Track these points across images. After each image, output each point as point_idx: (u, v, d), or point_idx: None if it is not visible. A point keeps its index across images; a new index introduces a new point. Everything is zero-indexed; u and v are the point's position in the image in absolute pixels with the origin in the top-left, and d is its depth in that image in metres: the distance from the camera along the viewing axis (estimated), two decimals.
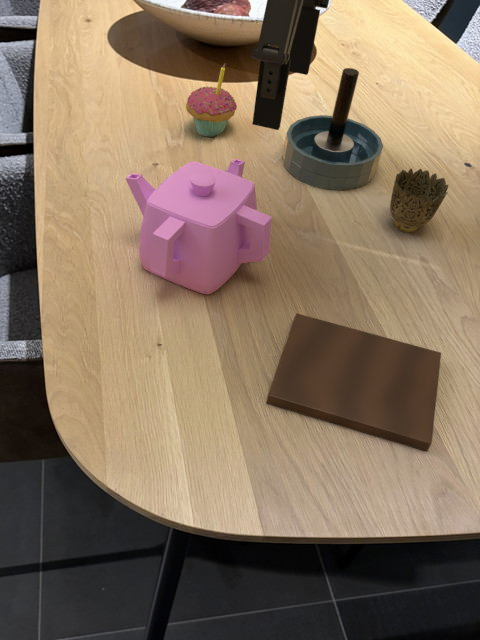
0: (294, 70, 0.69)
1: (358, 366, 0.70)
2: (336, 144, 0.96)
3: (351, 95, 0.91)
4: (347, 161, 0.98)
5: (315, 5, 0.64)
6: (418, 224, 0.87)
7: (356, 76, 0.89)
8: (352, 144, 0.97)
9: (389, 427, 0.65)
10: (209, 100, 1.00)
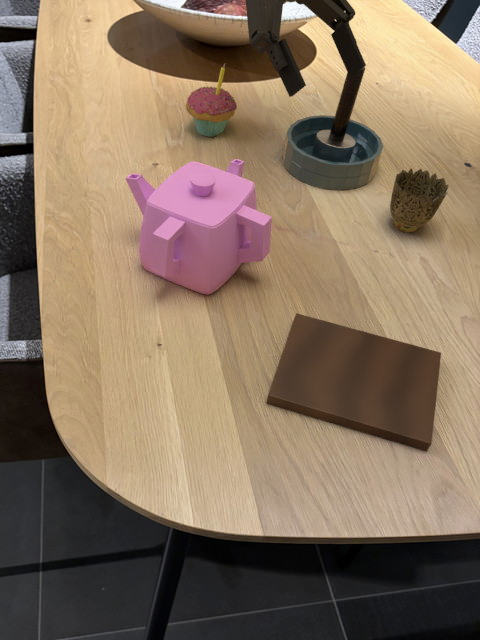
0: (354, 70, 0.88)
1: (358, 366, 0.70)
2: (338, 141, 0.96)
3: (356, 91, 0.91)
4: (348, 159, 0.98)
5: (343, 22, 0.87)
6: (418, 224, 0.87)
7: (362, 71, 0.89)
8: (354, 142, 0.97)
9: (389, 427, 0.65)
10: (209, 100, 1.00)
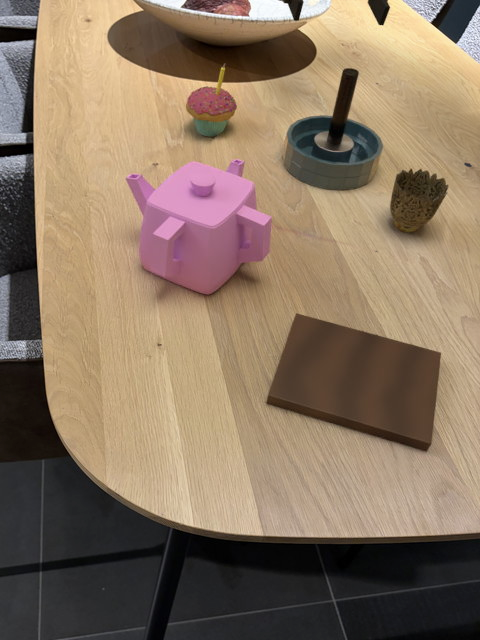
0: (381, 16, 0.91)
1: (358, 366, 0.70)
2: (336, 144, 0.96)
3: (351, 96, 0.91)
4: (347, 161, 0.98)
5: None
6: (418, 224, 0.87)
7: (356, 76, 0.89)
8: (352, 144, 0.97)
9: (389, 427, 0.65)
10: (209, 100, 1.00)
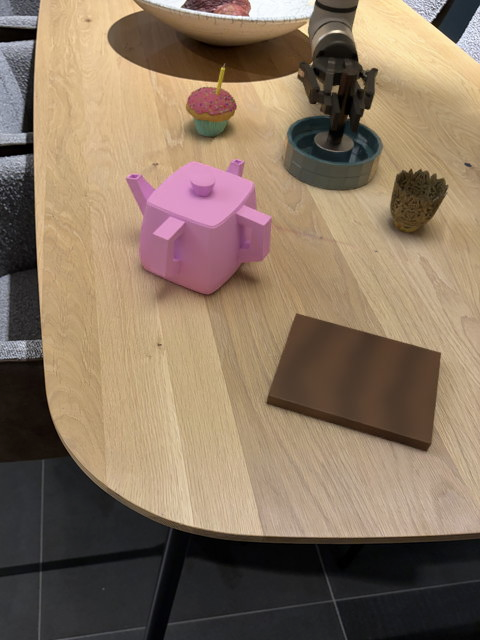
0: (353, 123, 0.89)
1: (358, 366, 0.70)
2: (336, 144, 0.96)
3: (351, 96, 0.91)
4: (347, 161, 0.98)
5: None
6: (418, 224, 0.87)
7: (356, 76, 0.89)
8: (352, 144, 0.97)
9: (389, 427, 0.65)
10: (209, 100, 1.00)
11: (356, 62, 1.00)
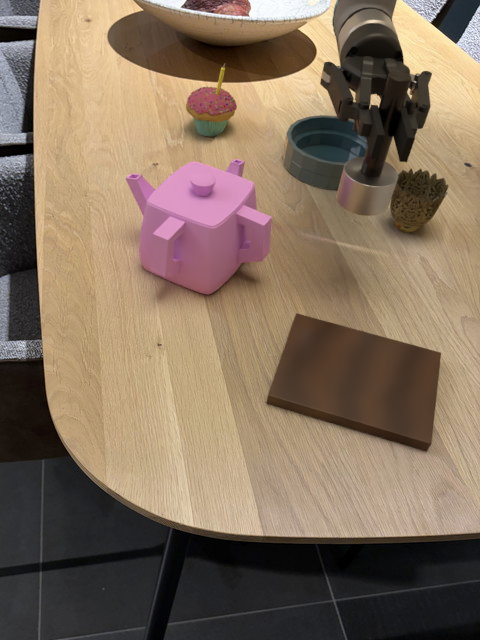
0: (402, 150, 0.63)
1: (358, 366, 0.70)
2: (374, 176, 0.70)
3: (399, 110, 0.64)
4: (388, 199, 0.71)
5: None
6: (418, 224, 0.87)
7: (408, 83, 0.62)
8: (396, 176, 0.70)
9: (389, 427, 0.65)
10: (209, 100, 1.00)
11: (401, 63, 0.74)
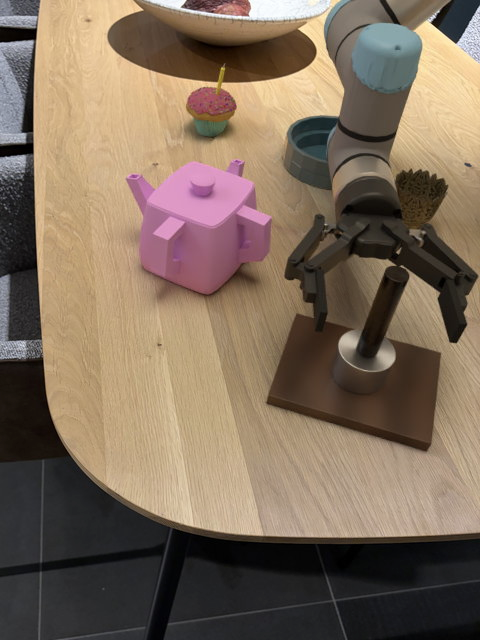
0: (453, 333, 0.60)
1: None
2: (370, 357, 0.66)
3: (396, 304, 0.60)
4: (386, 377, 0.67)
5: None
6: (418, 224, 0.87)
7: (406, 282, 0.58)
8: (393, 355, 0.66)
9: (389, 427, 0.65)
10: (209, 100, 1.00)
11: (400, 221, 0.69)
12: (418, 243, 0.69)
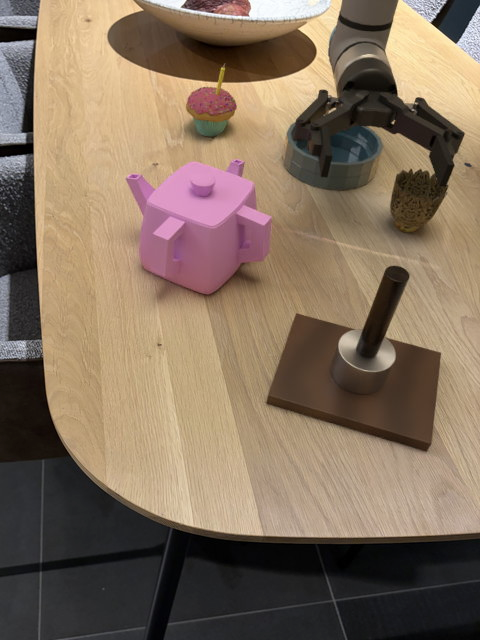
0: (442, 176, 0.68)
1: None
2: (370, 357, 0.66)
3: (396, 304, 0.60)
4: (386, 377, 0.67)
5: None
6: (418, 224, 0.87)
7: (406, 282, 0.58)
8: (393, 355, 0.66)
9: (389, 427, 0.65)
10: (209, 100, 1.00)
11: (395, 96, 0.78)
12: None
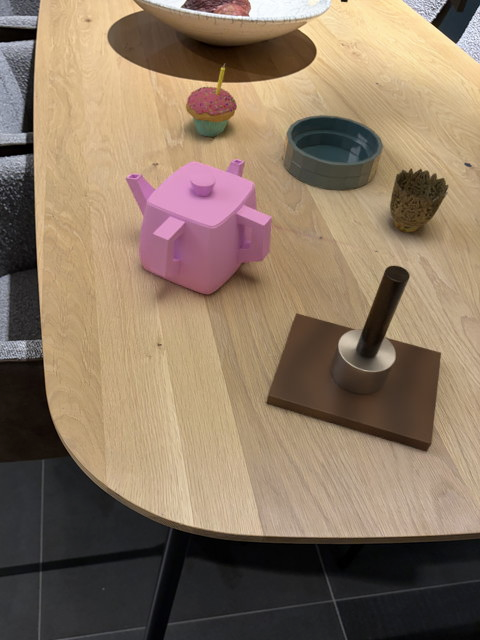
0: (460, 0, 0.70)
1: None
2: (370, 357, 0.66)
3: (396, 304, 0.60)
4: (386, 377, 0.67)
5: None
6: (418, 224, 0.87)
7: (406, 282, 0.58)
8: (393, 355, 0.66)
9: (389, 427, 0.65)
10: (209, 100, 1.00)
11: None
12: None
